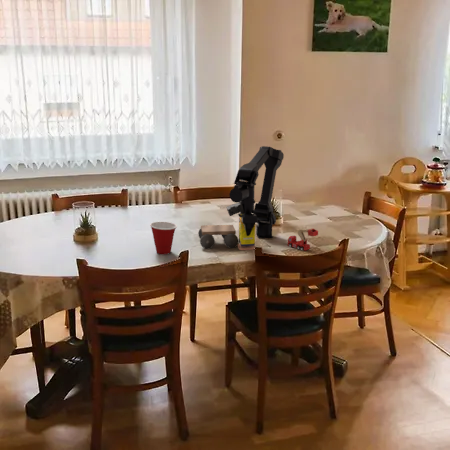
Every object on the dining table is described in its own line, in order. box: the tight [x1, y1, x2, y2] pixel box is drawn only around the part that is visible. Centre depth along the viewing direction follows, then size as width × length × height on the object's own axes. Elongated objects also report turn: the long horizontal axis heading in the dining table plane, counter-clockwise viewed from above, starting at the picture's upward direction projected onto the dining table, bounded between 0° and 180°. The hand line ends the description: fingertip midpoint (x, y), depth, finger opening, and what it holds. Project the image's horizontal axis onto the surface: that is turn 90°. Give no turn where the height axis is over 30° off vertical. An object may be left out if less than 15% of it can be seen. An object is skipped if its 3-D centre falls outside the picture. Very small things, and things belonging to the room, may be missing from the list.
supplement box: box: [238, 217, 256, 247], centre depth 228 cm, size 6×6×11 cm
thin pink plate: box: [236, 243, 256, 251], centre depth 230 cm, size 7×7×1 cm
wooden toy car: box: [197, 224, 239, 250], centre depth 233 cm, size 16×13×7 cm
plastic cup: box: [149, 221, 178, 255], centre depth 221 cm, size 11×11×12 cm
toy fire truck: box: [287, 228, 319, 252], centre depth 227 cm, size 3×14×10 cm, turn 44°
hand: (246, 233), depth 228 cm, fingers closed on supplement box, 6 cm apart
